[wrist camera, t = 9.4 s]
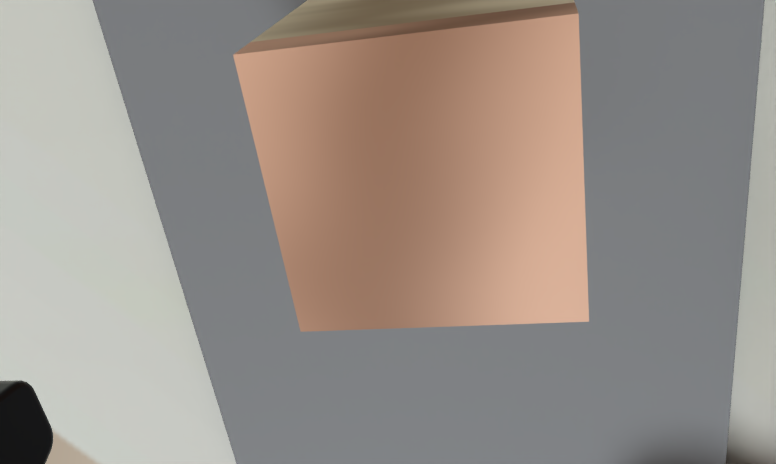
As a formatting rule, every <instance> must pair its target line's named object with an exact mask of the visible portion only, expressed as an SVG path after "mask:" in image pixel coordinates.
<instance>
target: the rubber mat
mask: <svg viewBox="0 0 776 464" xmlns="http://www.w3.org/2000/svg"><path fill="white" fill-rule="evenodd" d="M306 1H307V0H93V3H94V6H95V10H96V13H97V16H98V19H99V22H100V26H101V29H102V32H103V35H104V39H105V42H106V45H107V48H108V51H109V55H110V58H111V61H112V64H113V67H114V71H115V74H116V77H117V80H118V84H119V87H120V90H121V93H122V96H123V100H124V103H125V106H126V109H127V112H128V116H129V119H130V122H131V125H132V129H133V132H134V135H135V138H136V141H137V145H138V148H139V151H140V154H141V158H142V161H143V164H144V167H145V170H146V174H147V177H148V180H149V183H150V186H151V190H152V193H153V196H154V199H155V203H156V206H157V209H158V212H159V215H160V219H161V222H162V225H163V228H164V232H165V235H166V238H167V241H168V244H169V248H170V251H171V254H172V257H173V260H174V264H175V267H176V270H177V273H178V277H179V280H180V283H181V286H182V289H183V293H184V296H185V299H186V302H187V305H188V309H189V312H190V315H191V318H192V322H193V325H194V328H195V331H196V334H197V338H198V341H199V344H200V347H201V351H202V354H203V357H204V360H205V363H206V367H207V370H208V373H209V376H210V379H211V383H212V386H213V389H214V392H215V396H216V399H217V402H218V405H219V408H220V412H221V415H222V418H223V421H224V424H225V428H226V431H227V434H228V437H229V441H230V444H231V447H232V450H233V453H234V457H235V460H236V463H237V464H726V454H727V442H728V430H729V418H730V406H731V395H732V383H733V371H734V359H735V347H736V335H737V323H738V311H739V299H740V287H741V275H742V263H743V251H744V239H745V227H746V216H747V204H748V192H749V180H750V168H751V156H752V144H753V132H754V120H755V108H756V96H757V84H758V72H759V60H760V49H761V37H762V25H763V13H764V1H765V0H574V2H575V5H576V7H577V10H578V13H579V40H580V69H581V98H582V127H583V157H584V186H585V215H586V245H587V274H588V303H589V322H565V323H536V324H508V325H479V326H450V327H422V328H393V329H364V330H336V331H307V332H301V331H300V327H299V323H298V319H297V315H296V311H295V307H294V303H293V299H292V294H291V290H290V286H289V282H288V278H287V274H286V270H285V266H284V262H283V258H282V253H281V249H280V245H279V241H278V237H277V233H276V229H275V225H274V221H273V217H272V212H271V208H270V204H269V200H268V196H267V192H266V188H265V184H264V180H263V176H262V171H261V167H260V163H259V159H258V155H257V151H256V147H255V143H254V139H253V135H252V131H251V126H250V122H249V118H248V114H247V110H246V106H245V102H244V98H243V94H242V90H241V85H240V81H239V77H238V73H237V69H236V65H235V61H234V57H233V54H235V53H236V52H237V51H239V50H240V49H242V48H243V47H244V46H246V45H247V44H248V43H250V42H251V41H252V40H254V39H255V38H257V37H258V36H259V35H261V34H262V33H263V32H265V31H266V30H268V29H269V28H270V27H272V26H273V25H274V24H276V23H277V22H278V21H280V20H281V19H283V18H284V17H285V16H287V15H288V14H289V13H291V12H292V11H293V10H295V9H296V8H298V7H299V6H300V5H302V4H303V3H304V2H306Z"/></svg>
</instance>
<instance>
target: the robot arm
mask: <svg viewBox="0 0 776 464" xmlns="http://www.w3.org/2000/svg"><path fill="white" fill-rule="evenodd" d="M52 444H53V432H52V428H51V426H50V424H49V421H48V419H47V417H46V415H45V413H44V411H43V408H42V406H41V404H40V402H39V400H38V398H37V395H36V393H35V391H34V389H33V388H32V386H30V385H29V384H28V383H27V382H24V381H0V464H45V463H46V461H47V458H48V456H49V454H50V451H51V448H52Z"/></svg>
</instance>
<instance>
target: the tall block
mask: <svg viewBox="0 0 776 464" xmlns="http://www.w3.org/2000/svg"><path fill="white" fill-rule="evenodd" d="M233 57H234V61H235V65H236V69H237V73H238V77H239V81H240V85H241V90H242V94H243V98H244V102H245V106H246V110H247V114H248V118H249V122H250V126H251V131H252V135H253V139H254V143H255V147H256V151H257V155H258V159H259V163H260V167H261V171H262V176H263V180H264V184H265V188H266V192H267V196H268V200H269V204H270V208H271V212H272V217H273V221H274V225H275V229H276V233H277V237H278V241H279V245H280V249H281V253H282V258H283V262H284V266H285V270H286V274H287V278H288V282H289V286H290V290H291V294H292V299H293V303H294V307H295V311H296V315H297V319H298V323H299V327H300V331H301V332H307V331H336V330H364V329H393V328H422V327H450V326H479V325H508V324H536V323H565V322H589V303H588V274H587V245H586V215H585V186H584V157H583V127H582V98H581V69H580V40H579V13H578V10H577V7H576V5H575V2H574V0H307V1H306V2H304V3H303V4H302V5H300V6H299V7H298V8H296V9H295V10H293V11H292V12H291V13H289V14H288V15H287V16H285V17H284V18H283V19H281V20H280V21H278V22H277V23H276V24H274V25H273V26H272V27H270V28H269V29H268V30H266V31H265V32H263V33H262V34H261V35H259V36H258V37H257V38H255V39H254V40H252V41H251V42H250V43H248V44H247V45H246V46H244V47H243V48H242V49H240V50H239V51H237V52H236V53H235V54H233Z"/></svg>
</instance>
